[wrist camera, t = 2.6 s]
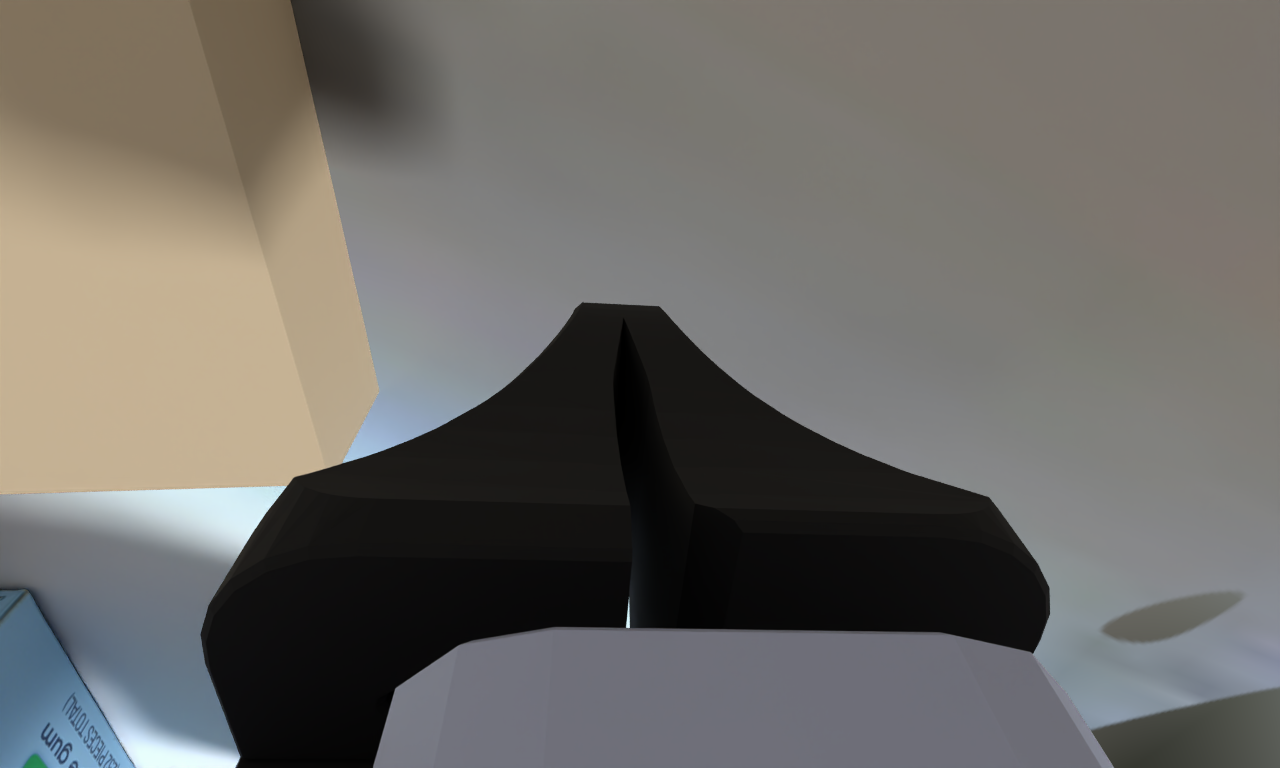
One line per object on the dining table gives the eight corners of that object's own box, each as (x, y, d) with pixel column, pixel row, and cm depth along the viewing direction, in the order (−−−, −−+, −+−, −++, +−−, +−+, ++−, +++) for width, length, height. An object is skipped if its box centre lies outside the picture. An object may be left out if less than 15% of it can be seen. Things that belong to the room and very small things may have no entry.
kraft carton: (382, 385, 18) (330, 484, 15) (103, 392, 18) (-16, 495, 14) (292, -17, 13) (186, -9, 10) (-87, -15, 13) (-329, -7, 10)
